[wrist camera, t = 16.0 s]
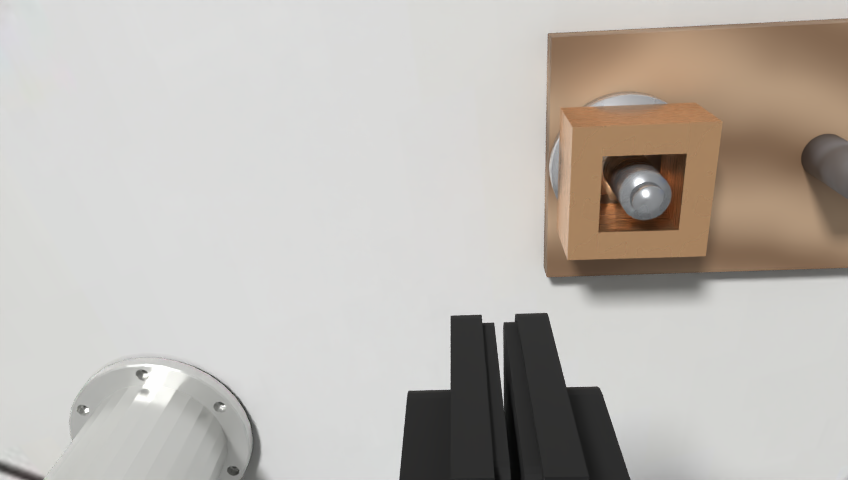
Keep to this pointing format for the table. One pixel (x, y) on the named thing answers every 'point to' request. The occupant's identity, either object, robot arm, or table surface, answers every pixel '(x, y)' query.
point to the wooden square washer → (680, 166)
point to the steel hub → (626, 169)
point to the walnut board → (729, 135)
